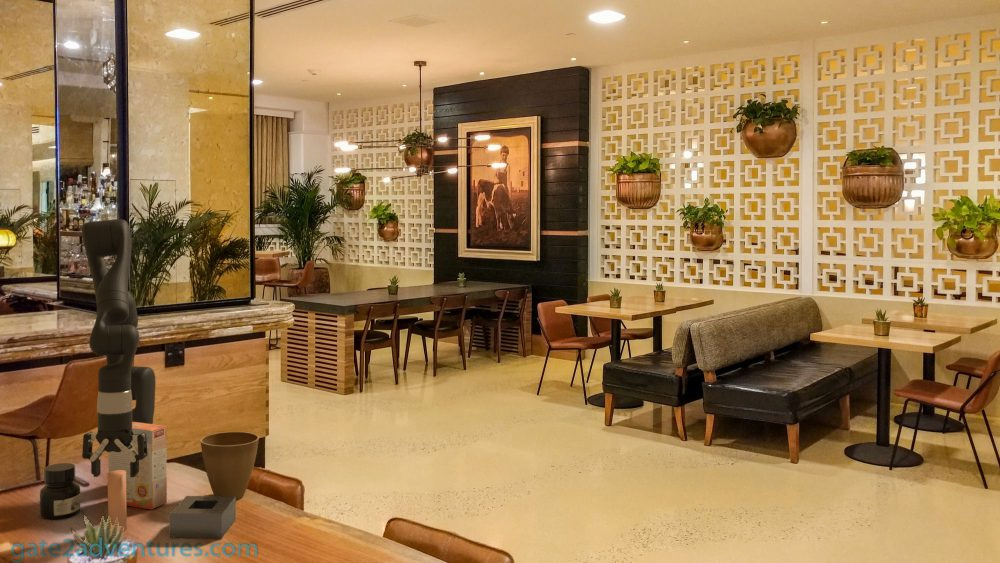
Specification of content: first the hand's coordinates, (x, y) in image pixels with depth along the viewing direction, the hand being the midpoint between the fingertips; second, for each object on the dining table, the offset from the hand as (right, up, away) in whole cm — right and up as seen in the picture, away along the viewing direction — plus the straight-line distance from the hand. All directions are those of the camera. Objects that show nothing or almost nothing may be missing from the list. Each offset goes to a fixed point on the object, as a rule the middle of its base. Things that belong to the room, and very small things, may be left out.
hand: (115, 476), depth 197 cm
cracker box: (-3, -12, +19) cm, 23 cm away
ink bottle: (-19, -12, +10) cm, 24 cm away
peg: (0, -13, +1) cm, 13 cm away
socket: (+20, -14, +3) cm, 24 cm away
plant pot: (+19, -12, +26) cm, 34 cm away
